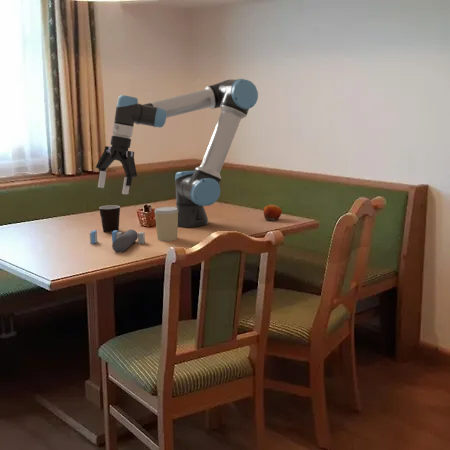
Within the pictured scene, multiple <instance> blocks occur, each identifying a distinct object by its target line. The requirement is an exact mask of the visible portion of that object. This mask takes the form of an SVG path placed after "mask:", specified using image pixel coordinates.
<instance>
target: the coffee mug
mask: <svg viewBox="0 0 450 450" xmlns="http://www.w3.org/2000/svg"><path fill="white" fill-rule="evenodd" d="M98 210H99V215H100V222H101V226H102V231H103V232H104V233H112V232H113V231H114V230H119V231H120V211H121V206H120V205H115V204H113V205H111V204H110V205H102V206H99V208H98Z"/></svg>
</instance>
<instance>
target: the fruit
mask: <svg viewBox="0 0 450 450" xmlns="http://www.w3.org/2000/svg"><path fill="white" fill-rule="evenodd" d="M282 213H283V210H282V208H281V207H280V206H278V205H276V204H269V205H266V206H264V208H263V217H264V219H265V220H266V221H273V222H275V221H278V220H279V219H280V217H281V216H282Z"/></svg>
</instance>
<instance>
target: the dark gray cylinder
mask: <svg viewBox="0 0 450 450" xmlns="http://www.w3.org/2000/svg"><path fill="white" fill-rule="evenodd" d="M136 241H138V232H137V231H136V230H135V229H128V230H126V231H125V232H124V233H122V235H121V236H120V237H119V238H118V239H116V240H115V241H114V242H113V244H112V246H111V247H112V250H113V251H114V252H115V253H124V252H125V251H126V250H127V249H128V248H129V247H131V245H133V243H135V242H136Z"/></svg>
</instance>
